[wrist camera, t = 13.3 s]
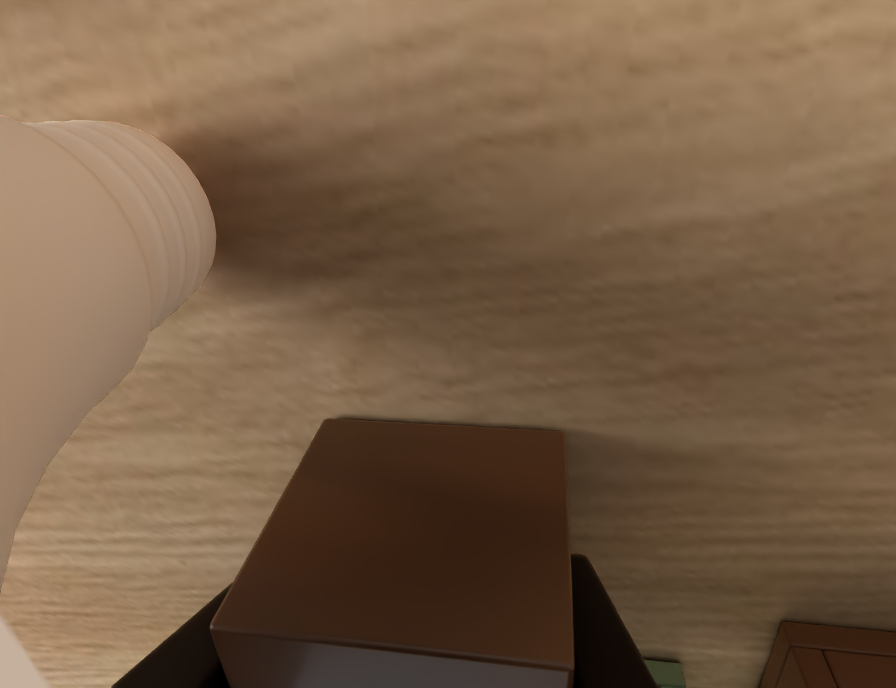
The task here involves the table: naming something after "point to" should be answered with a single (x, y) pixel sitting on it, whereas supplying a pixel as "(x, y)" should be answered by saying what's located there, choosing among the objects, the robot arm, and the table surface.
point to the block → (409, 564)
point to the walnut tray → (831, 658)
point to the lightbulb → (83, 278)
